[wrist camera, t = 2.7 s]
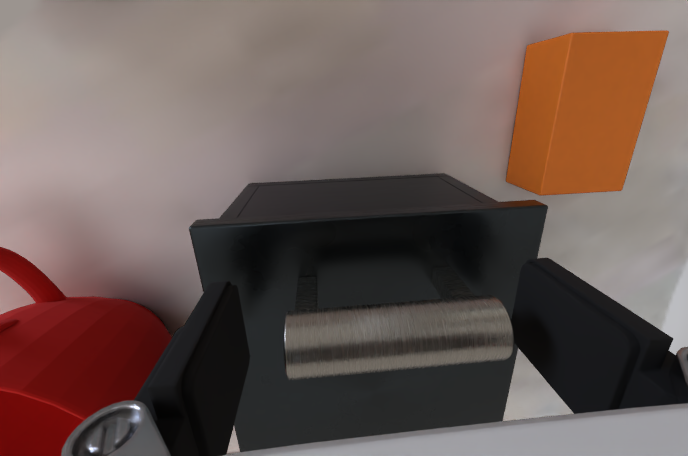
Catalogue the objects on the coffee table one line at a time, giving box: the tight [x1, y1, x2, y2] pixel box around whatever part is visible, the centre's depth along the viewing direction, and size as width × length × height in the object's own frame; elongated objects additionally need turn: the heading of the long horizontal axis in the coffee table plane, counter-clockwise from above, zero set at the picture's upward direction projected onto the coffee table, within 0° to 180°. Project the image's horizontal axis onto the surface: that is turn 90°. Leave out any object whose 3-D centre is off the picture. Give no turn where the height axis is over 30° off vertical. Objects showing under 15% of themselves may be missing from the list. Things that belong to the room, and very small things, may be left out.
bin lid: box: [189, 200, 548, 452], centre depth 12 cm, size 16×13×5 cm
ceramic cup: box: [0, 247, 172, 456], centre depth 18 cm, size 13×17×10 cm
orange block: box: [506, 31, 669, 195], centre depth 18 cm, size 8×5×4 cm, turn 2°
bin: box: [219, 174, 498, 219], centre depth 19 cm, size 16×13×9 cm
